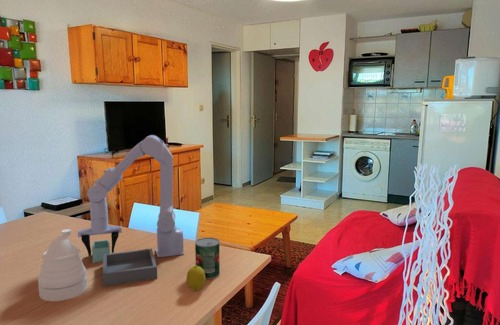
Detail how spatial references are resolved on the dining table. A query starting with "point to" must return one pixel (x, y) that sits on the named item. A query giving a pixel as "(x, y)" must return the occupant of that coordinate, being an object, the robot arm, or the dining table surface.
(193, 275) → the lemon
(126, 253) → the charcoal crate
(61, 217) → the dining table surface
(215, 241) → the canned tomato
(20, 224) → the dining table surface
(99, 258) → the teal crate
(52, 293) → the honey pot
